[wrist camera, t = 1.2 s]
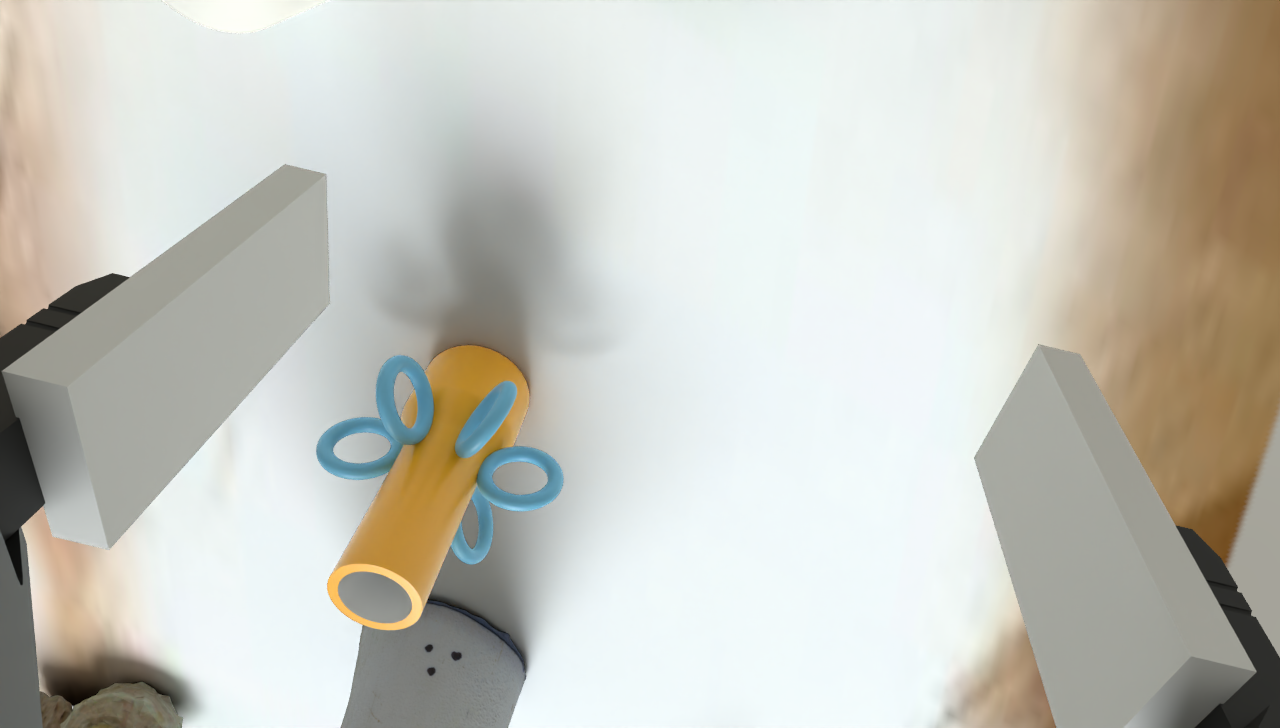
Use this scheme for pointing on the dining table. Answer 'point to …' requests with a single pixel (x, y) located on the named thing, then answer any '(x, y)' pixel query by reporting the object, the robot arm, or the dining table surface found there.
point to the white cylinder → (240, 12)
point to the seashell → (112, 709)
